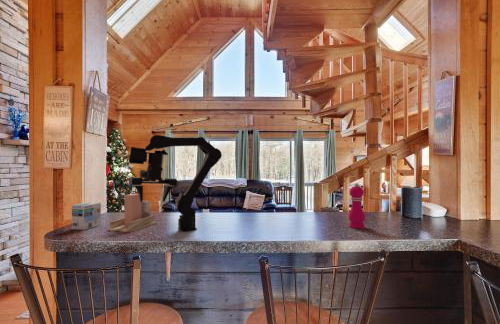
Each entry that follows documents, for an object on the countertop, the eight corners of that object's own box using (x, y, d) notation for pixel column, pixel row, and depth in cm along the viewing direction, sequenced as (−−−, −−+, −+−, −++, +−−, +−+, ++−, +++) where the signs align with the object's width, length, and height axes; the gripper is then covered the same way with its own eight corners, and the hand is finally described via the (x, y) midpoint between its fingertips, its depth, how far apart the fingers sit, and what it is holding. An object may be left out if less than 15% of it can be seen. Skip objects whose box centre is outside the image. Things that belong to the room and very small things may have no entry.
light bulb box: (84, 230, 123) (83, 205, 123) (70, 229, 125) (70, 205, 125) (101, 224, 134) (101, 202, 134) (89, 224, 135) (89, 201, 135)
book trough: (156, 223, 137) (156, 201, 137) (131, 232, 120) (131, 206, 120) (134, 221, 140) (134, 200, 140) (107, 230, 123) (107, 205, 123)
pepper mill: (347, 228, 126) (347, 183, 126) (348, 224, 133) (348, 182, 133) (365, 229, 123) (365, 183, 123) (365, 226, 130) (365, 182, 130)
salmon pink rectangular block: (141, 223, 133) (141, 193, 133) (132, 226, 126) (132, 195, 126) (134, 223, 134) (134, 193, 134) (124, 226, 127) (124, 195, 127)
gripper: (170, 165, 131) (168, 199, 131) (127, 163, 121) (125, 199, 120) (179, 166, 122) (176, 202, 122) (133, 163, 111) (130, 203, 111)
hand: (152, 201), depth 119 cm, fingers open, 9 cm apart
